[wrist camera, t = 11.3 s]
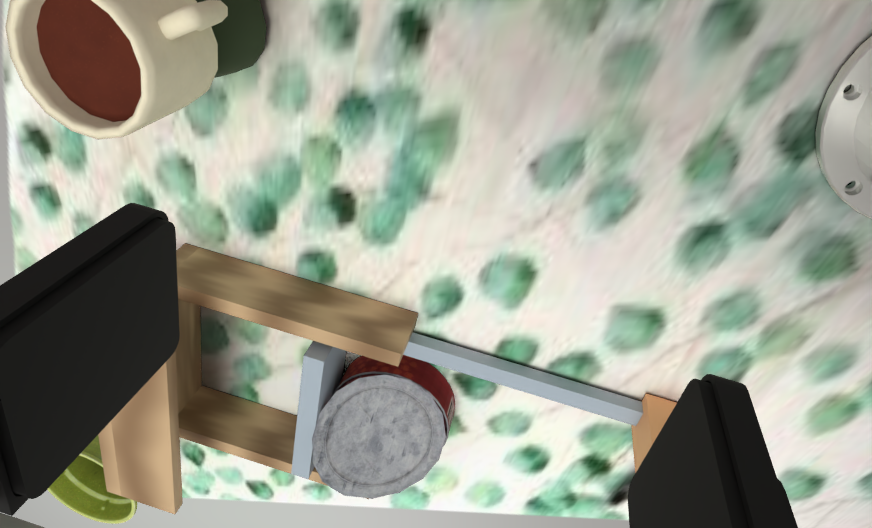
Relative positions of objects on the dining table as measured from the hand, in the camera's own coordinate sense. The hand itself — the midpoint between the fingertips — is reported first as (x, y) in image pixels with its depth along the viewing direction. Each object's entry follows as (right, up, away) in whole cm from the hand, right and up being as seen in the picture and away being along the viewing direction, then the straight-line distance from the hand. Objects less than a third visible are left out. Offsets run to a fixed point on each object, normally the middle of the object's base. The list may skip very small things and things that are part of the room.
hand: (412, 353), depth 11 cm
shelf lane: (-11, -6, +40) cm, 42 cm away
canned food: (-3, -9, +40) cm, 41 cm away
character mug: (-13, +17, +27) cm, 34 cm away
